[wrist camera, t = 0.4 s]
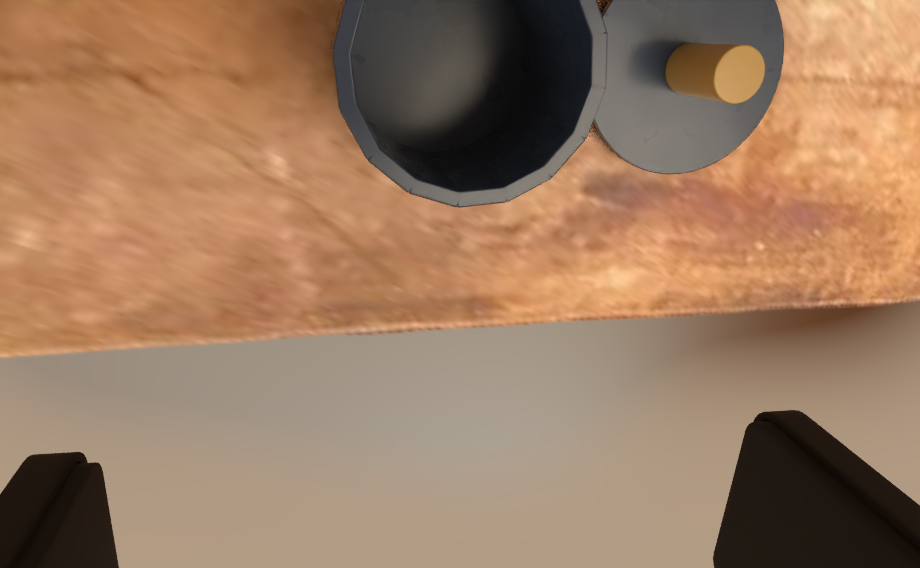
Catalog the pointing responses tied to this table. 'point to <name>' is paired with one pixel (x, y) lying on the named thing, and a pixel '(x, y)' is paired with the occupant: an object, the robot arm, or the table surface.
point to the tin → (469, 90)
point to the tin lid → (687, 79)
